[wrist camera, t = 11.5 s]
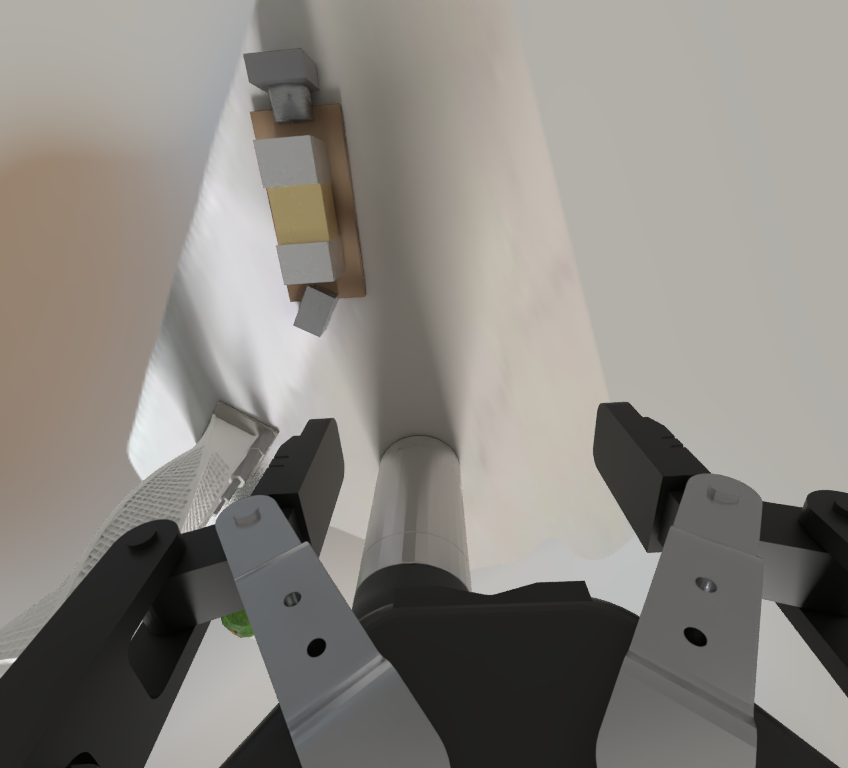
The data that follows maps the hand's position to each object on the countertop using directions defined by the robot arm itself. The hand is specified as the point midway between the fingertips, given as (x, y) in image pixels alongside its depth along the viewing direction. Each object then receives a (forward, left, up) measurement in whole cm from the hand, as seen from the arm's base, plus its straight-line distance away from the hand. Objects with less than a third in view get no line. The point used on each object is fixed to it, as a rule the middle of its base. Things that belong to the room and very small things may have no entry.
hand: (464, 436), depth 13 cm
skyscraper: (-17, +25, -28) cm, 41 cm away
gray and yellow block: (+6, +11, -27) cm, 30 cm away
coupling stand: (+6, +11, -28) cm, 31 cm away
